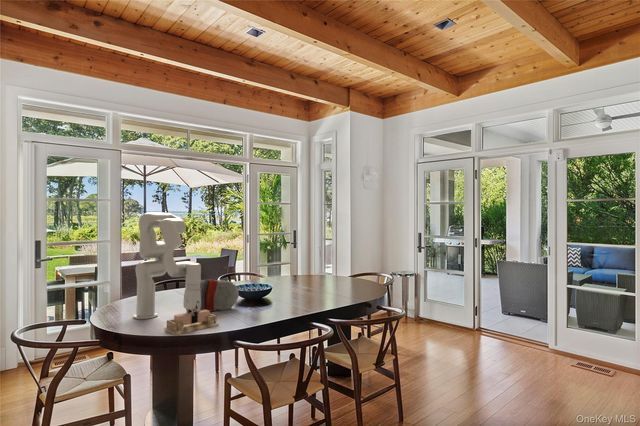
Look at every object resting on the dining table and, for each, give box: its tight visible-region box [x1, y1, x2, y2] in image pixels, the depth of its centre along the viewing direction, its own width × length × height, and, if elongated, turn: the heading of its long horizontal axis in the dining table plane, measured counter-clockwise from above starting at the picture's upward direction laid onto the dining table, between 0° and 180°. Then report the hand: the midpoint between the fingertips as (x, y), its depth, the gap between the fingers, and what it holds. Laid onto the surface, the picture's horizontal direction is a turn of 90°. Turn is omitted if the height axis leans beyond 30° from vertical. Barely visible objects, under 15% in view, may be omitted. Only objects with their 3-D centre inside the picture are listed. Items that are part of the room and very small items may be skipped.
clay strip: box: [173, 310, 211, 325], centre depth 204 cm, size 18×4×5 cm, turn 137°
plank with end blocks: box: [164, 313, 220, 336], centre depth 204 cm, size 24×12×5 cm, turn 137°
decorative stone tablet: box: [194, 278, 240, 313], centre depth 241 cm, size 19×6×30 cm
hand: (192, 321), depth 204 cm, fingers closed on clay strip, 4 cm apart
